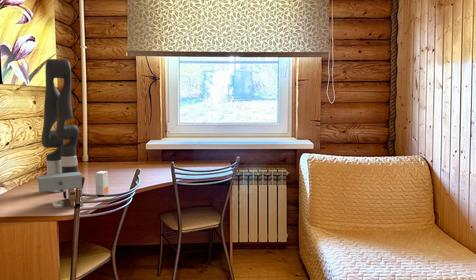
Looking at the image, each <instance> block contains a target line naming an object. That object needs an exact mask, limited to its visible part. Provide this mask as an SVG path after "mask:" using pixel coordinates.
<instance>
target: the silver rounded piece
mask: <svg viewBox="0 0 476 280" xmlns="http://www.w3.org/2000/svg"><path fill="white" fill-rule="evenodd" d="M52 207H53V209H60V208H64V207H65V201H63V200H60V201H58V200H57V201H54V202H53V203H52Z"/></svg>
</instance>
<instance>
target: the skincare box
mask: <svg viewBox="0 0 476 280" xmlns="http://www.w3.org/2000/svg"><path fill="white" fill-rule="evenodd" d="M94 175H95V176H94V177H95V195H104V196H106V195H108V194H109V175H108V171H107V170H106V171H105V170H100V171H97V172H95V173H94Z"/></svg>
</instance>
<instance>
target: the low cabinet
mask: <svg viewBox="0 0 476 280" xmlns="http://www.w3.org/2000/svg"><path fill="white" fill-rule="evenodd" d="M81 177H82V174H81V171H78V172H71V173H59V174H48V175H47V174H40V175H39V174H38V175H37V183H38V184H37V185H38V192H39V193H41V192H49V191H53V190H62V189H66V190H68V189H72V188H74V189H76V188H79V189H81V194H82V195H83V188H82V178H81ZM81 201H83V202H84V198H83V197H81ZM80 207H84V203H83V204H81V206H80Z"/></svg>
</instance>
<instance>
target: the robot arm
mask: <svg viewBox="0 0 476 280" xmlns="http://www.w3.org/2000/svg"><path fill="white" fill-rule="evenodd" d="M44 67H45V71H44V72H45V92H44V103H43V104H44V105H43V107H44V108H43V126H42V130H41V131H42V132H41V144H42V146H43V147H44V149H45V148H47V149H48V148H49V149H50V148H51V149H52V148H56V149H55V150H53V151H52V152H50V153H48V154H46V156H45V158H46V159H45V161H46V175H48V174H59V173H71V172H79V167H78V165H79V163H78V157H77V143H78V138H79V135H80V129H79V128H78V126H77V125H76V124H65V123H66V122H67V121H70V120H72V119H73V118H74V113H73V107H72V106H73V105H72V66H71V63H70V61H69V59H65V58H53V59H52V58H49V59H47V60H46V61H45V66H44ZM55 79H63V86H62V87H61V90H60V91H59V90H58V88H57V87H56V85H55V83H54V81H55ZM54 124H56V127H55V128H56V129H55V130H54V129H53V127H54ZM52 129H53V130H52ZM65 140H68V142H65ZM81 178H82V189H84V184H85V180H86V178H85V176H81ZM76 189H77V188H75V190H76ZM59 192H62V195H63V196H62V197H63V199H65V200H67V198H68V197H67V189H62V190H53V191H48V193H59Z"/></svg>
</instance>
